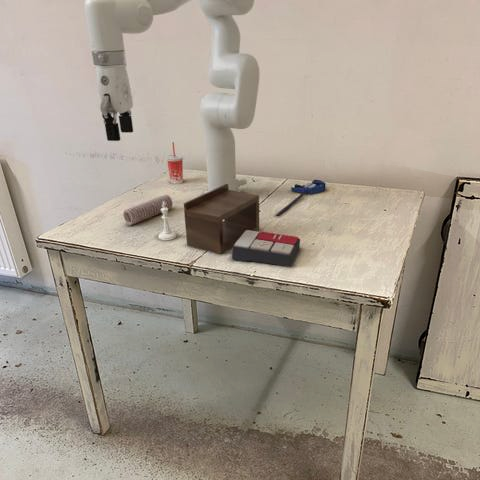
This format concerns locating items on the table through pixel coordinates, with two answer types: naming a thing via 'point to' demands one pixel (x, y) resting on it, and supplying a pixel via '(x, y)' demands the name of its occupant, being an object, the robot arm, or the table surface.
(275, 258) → the grey and red box
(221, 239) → the brown wooden cabinet
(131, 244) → the table surface
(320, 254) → the table surface
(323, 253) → the table surface
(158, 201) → the coil
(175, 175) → the beverage cup
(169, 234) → the chess piece
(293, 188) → the bar clamp
